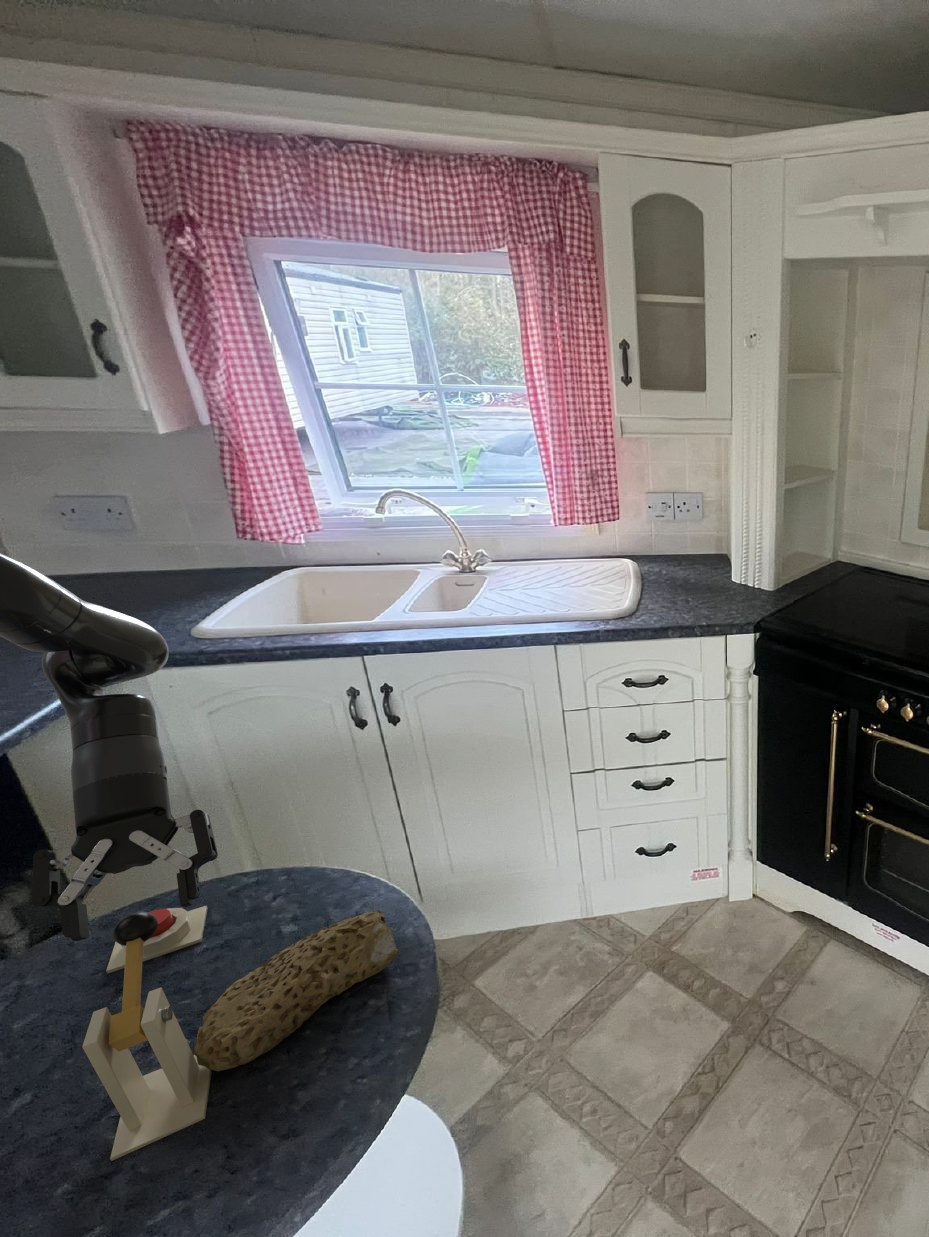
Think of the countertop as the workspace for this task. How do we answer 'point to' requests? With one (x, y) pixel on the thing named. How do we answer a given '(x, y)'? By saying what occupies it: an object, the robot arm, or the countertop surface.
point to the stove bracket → (149, 1078)
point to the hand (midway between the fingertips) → (136, 921)
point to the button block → (167, 937)
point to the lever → (131, 979)
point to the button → (162, 921)
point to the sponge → (292, 989)
